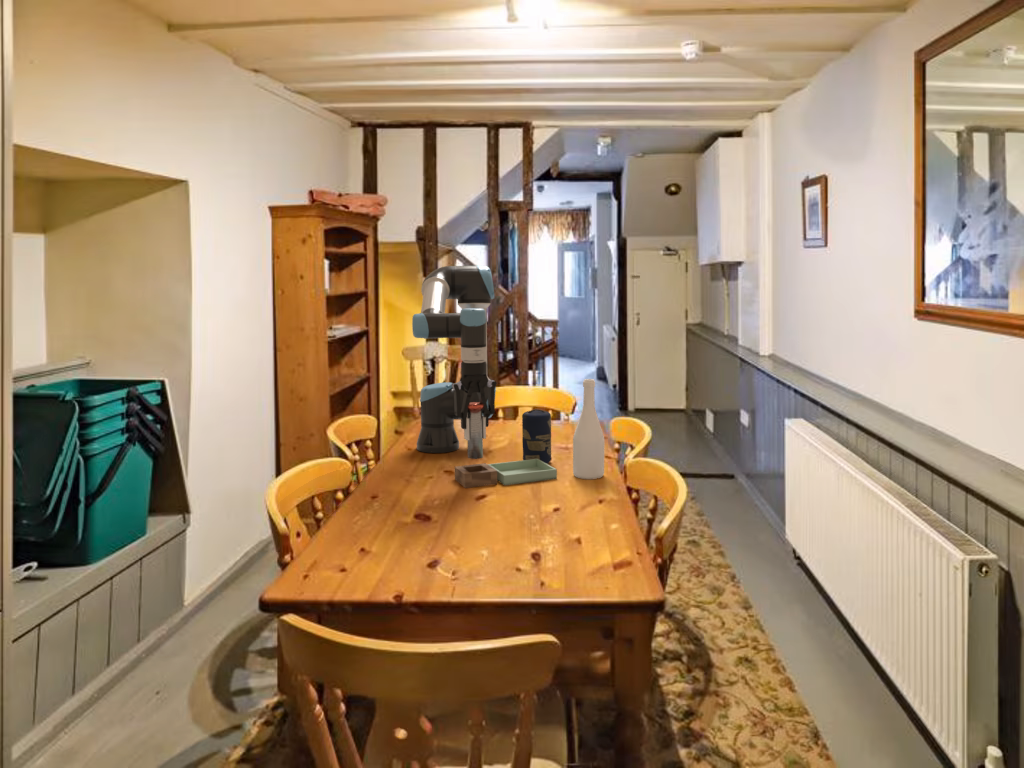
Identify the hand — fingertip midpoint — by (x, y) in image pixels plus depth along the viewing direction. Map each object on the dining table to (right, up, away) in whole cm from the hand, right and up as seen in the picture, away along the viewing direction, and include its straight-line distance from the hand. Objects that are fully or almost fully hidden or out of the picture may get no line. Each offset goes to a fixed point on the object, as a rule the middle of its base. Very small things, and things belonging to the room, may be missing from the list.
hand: (475, 438), depth 222 cm
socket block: (0, -13, +2) cm, 13 cm away
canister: (+19, -10, +23) cm, 32 cm away
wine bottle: (+35, -12, +7) cm, 37 cm away
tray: (+14, -12, +7) cm, 20 cm away
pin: (0, -6, +1) cm, 6 cm away
